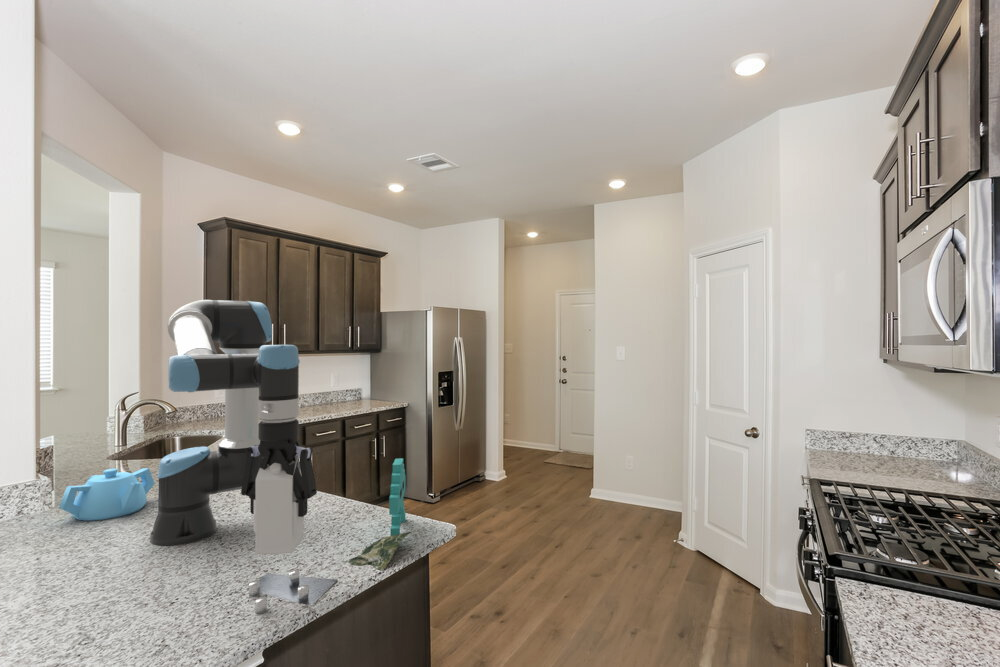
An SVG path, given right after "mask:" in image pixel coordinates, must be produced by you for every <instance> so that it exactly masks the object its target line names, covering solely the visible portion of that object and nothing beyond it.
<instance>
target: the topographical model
mask: <svg viewBox="0 0 1000 667" xmlns="http://www.w3.org/2000/svg"><path fill="white" fill-rule="evenodd" d="M411 533H412V532H409V531H408V532H402V533H400V534H398V535H393V536H390V535H389V536H385V537H381V538H380V539H378V540H376V541H375V542H373V543H371V544H369V545H368V546H367V547H365V548H364V549H363V550H362V552H361V553H360V554H359V555H357V556H355V557H352V558H350V559H349V560H348V564H349V565H352V566H356V567H363V566H372V567H373V568H374V569H375V570H377V571H379V572H380V571H381V572H384V571H385V569H386V568H387V566H388V565H389V563H390V561H391V559H392V558H393V556H394V555H395V553H396V551H397V549H398V547H399V546H400V543H402V541H403V540H404V539H405V538H406V537H407V536H409V535H410V534H411Z"/></svg>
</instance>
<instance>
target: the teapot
mask: <svg viewBox="0 0 1000 667" xmlns="http://www.w3.org/2000/svg"><path fill="white" fill-rule="evenodd" d="M102 473H103V474H93V475H91V476H89V478H88V479H87V481H86V482H85V483H84V484H83V485H70V486H69V485H67V486H66V488H65V490H64V494H63V496H62V498H61V501H60V503H59V506H58V509H60V510H62V511H65V512H66V513H69V514H71V515H72V517H73V518H74V519H76V520H78V521H79V520H80V521H103V520H108V519H115V518H120V517H123V516H127V515H131V514H134V513H137V512H138V511H139V510H141V509H142V508H143V507H144V506H145V505H146V503H147V500H148V498H147V494H148V493H149V491H150V490H151V489H153V487H154V485H156V484H155V483H156V482H155V481H154V478H153V475H152V473H151V470H150V468H147V467H143V468H140V469H139V470H136V471H134V472H132V473H131V472H126V471H123V472H122V471H121V472H119V469H118V468H108V469H105V470H103V471H102ZM139 478H140V480H141V481H140V480H139ZM77 492H78V493H77Z"/></svg>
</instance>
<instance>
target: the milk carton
mask: <svg viewBox="0 0 1000 667" xmlns="http://www.w3.org/2000/svg"><path fill="white" fill-rule="evenodd" d="M262 459H263V457H262ZM295 459H296V462H295V461H291V463H289V465H290V464H293V463H295V468H296V465H297V462H298V469H299V471H300V474H301V469H300V459H299V458H298V454H296V456H295ZM267 466H268V467H267V468H266V469H265V470H264V469H262V468H260V469H259V472H258V474H257V477H256V532H255V555H257V556H258V555H259V556H261V555H275V554H276V555H279V554H280V555H281V554H283V555H284V554H293V552H294V551H295V550H296V549H297V548H298V546H299V545H300V543H301V542H302V541H303V539H304V537H305V536H304V534H305V531H304V530H305V529H304V530H302V531H301V532H300V533H298V534H297V535H294V534H293V502H294V501H296V500H297V499H296V496H295V494H294V491H293V476H292V475H289V474H286V471H284V470H283V468H282V466H281V464H278V463H273V464H272V465H271V466H269V464H267ZM295 468H294V471H295ZM293 475H294V474H293ZM301 476H302V475H301Z"/></svg>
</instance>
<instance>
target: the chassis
mask: <svg viewBox="0 0 1000 667" xmlns="http://www.w3.org/2000/svg"><path fill="white" fill-rule="evenodd" d="M337 582H339V580H338V579H337V578H326V577H313V576H304V575H303V576H302V575H300V570H299V569H292V570H289V572H288V574H278V573H266V574H264V575H263V576H262V577H260V578H259V579H255V580H251V581H250V582H249V583H248V587H247V590H248V597H249V598H254V597H258V596H259V595H260V593H261V594H264V595H268V596H271V597H276V598H278V599H281V600H282V599H283V600H286V601H289V602H290V601H291V602H295V603H298V604H301V605H306V606H309V607H312V606H314V605H315V603H317V601H319V600H320V599H321V598H322V597H323V596H324V595H325V594H326V593H327V592H328V591H329V590H330V589H331V588H332V587H333V586H334V585H335V584H336V583H337ZM267 600H268V598H267V596H260V597H258V598H255V602H254V603H255V604H254V605H255V606H254V607H255V608H254V610H255V612H254V613H255V614H256V615H263V614H265V613H266V612H267V611H268V608H267V607H268V601H267Z"/></svg>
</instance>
